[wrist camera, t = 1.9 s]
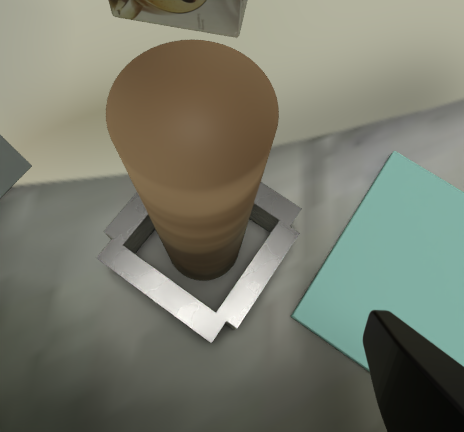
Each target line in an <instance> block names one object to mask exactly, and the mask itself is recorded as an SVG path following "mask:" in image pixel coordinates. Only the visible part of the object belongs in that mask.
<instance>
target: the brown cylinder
mask: <svg viewBox="0 0 464 432" xmlns="http://www.w3.org/2000/svg"><path fill="white" fill-rule="evenodd" d="M278 112H279V111H278V102H277V97H276V95H275V91H274V89H273V87H272V85H271V83H270V81H269V79H268V78H267V76H266V75H265V73H264V72H263V71H262V70H261V69H260V68H259V67H258V65H257V64H255V63H254V62H253V61H252V60H251V59H250V58H248V57H247V56H245V55H244V54H242V53H241V52H239V51H237V50H235V49H233V48H230V47H228V46H225V45H223V44H219V43H215V42H210V41H204V40H180V41H174V42H169V43H165V44H162V45H159V46H157V47H154V48H151V49H149V50H147V51H146V52H144V53H142V54H140V55H139V56H137V57H136V58H135V59H133V60H132V61H131V62H130V63H129V64H128V65H127V66H126V67H125V68H124V69H123V70H122V71H121V72H120V74H119V75H118V77H117V78H116V80H115V81H114V83H113V85H112V87H111V90H110V93H109V96H108V100H107V105H106V122H107V128H108V131H109V134H110V137H111V140H112V142H113V144H114V146H115V148H116V150H117V152H118V154H119V156H120V158H121V160H122V162H123V164H124V166H125V168H126V170H127V172H128V174H129V176H130V178H131V180H132V182H133V184H134V186H135V188H136V190H137V192H138V194H139V196H140V198H141V200H142V202H143V204H144V206H145V208H146V210H147V213H148V215H149V217H150V219H151V221H152V223H153V225H154V227H155V229H156V231H157V233H158V235H159V237H160V239H161V241H162V243H163V245H164V247H165V249H166V251H167V253H168V255H169V257H170V259H171V261H172V263H173V265H174V266H175V267H176V268H177V270H178V271H180V272H181V273H182V274H183V275H185V276H187V277H189V278H192V279H195V280H211V279H215V278H217V277H220V276H221V275H223V274H225V273H226V272H227V271H228V270H229V269H230V268H231V267H232V266H233V264H234V263H235V261H236V259H237V256H238V253H239V250H240V247H241V243H242V240H243V237H244V234H245V230H246V227H247V224H248V221H249V218H250V214H251V211H252V208H253V205H254V201H255V198H256V195H257V192H258V189H259V185H260V182H261V179H262V176H263V172H264V169H265V166H266V163H267V159H268V156H269V153H270V150H271V147H272V143H273V140H274V137H275V133H276V130H277V126H278V118H279V114H278Z"/></svg>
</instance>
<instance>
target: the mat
mask: <svg viewBox="0 0 464 432" xmlns="http://www.w3.org/2000/svg"><path fill="white" fill-rule="evenodd" d="M372 310H388V311H390V312H391V313H393V314H394V315H396V316H397V317H398V318H400V319H401V320H402V321H404V322H405V323H406V324H408V325H409V326H410V327H412V328H413V329H414V330H416V331H417V332H418V333H420V334H421V335H422V336H424V337H425V338H426V339H428V340H429V341H430V342H432V343H433V344H434V345H436V346H437V347H438V348H440V349H441V350H442V351H444V352H445V353H446V354H448V355H449V356H450V357H452V358H453V359H454V360H456V361H457V362H458V363H460V364H461V365H462V366H464V192H462V191H461V190H459V189H457V188H456V187H454V186H452V185H451V184H449V183H447V182H446V181H444V180H442V179H441V178H439V177H437V176H436V175H434V174H432V173H431V172H429V171H427V170H426V169H424V168H422V167H421V166H419V165H417V164H416V163H414V162H412V161H411V160H409V159H407V158H406V157H404V156H402V155H401V154H399V153H397V152H396V151H394V152H393V153H392V154H391V155H390V156H389V158H388V160H387V161H386V163H385V165H384V166H383V168H382V169H381V171H380V173H379V174H378V176H377V177H376V179H375V181H374V182H373V184H372V186H371V187H370V189H369V190H368V192H367V194H366V195H365V197H364V199H363V200H362V202H361V203H360V205H359V207H358V208H357V210H356V211H355V213H354V215H353V216H352V218H351V220H350V221H349V223H348V224H347V226H346V228H345V229H344V231H343V233H342V234H341V236H340V237H339V239H338V241H337V242H336V244H335V245H334V247H333V249H332V250H331V252H330V254H329V255H328V257H327V258H326V260H325V262H324V263H323V265H322V267H321V268H320V270H319V271H318V273H317V275H316V276H315V278H314V279H313V281H312V283H311V284H310V286H309V288H308V289H307V291H306V292H305V294H304V296H303V297H302V299H301V300H300V302H299V304H298V305H297V307H296V309H295V310H294V312H293V313H292V315H291V317H292V318H294V319H295V320H296V321H298V322H299V323H301V324H302V325H304V326H305V327H306V328H308V329H309V330H311V331H312V332H314V333H315V334H316V335H318V336H319V337H321V338H322V339H324V340H325V341H326V342H328V343H329V344H331V345H332V346H333V347H335V348H336V349H338V350H339V351H341V352H342V353H343V354H345V355H346V356H348V357H349V358H351V359H352V360H353V361H355V362H356V363H358V364H359V365H361V366H362V367H363V368H365V369H366V370H368V371H369V367H368V363H367V359H366V355H365V350H364V346H363V333H364V330H365V326H366V323H367V319H368V316H369V313H370V312H371V311H372ZM369 372H370V371H369Z"/></svg>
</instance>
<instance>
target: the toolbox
mask: <svg viewBox="0 0 464 432" xmlns="http://www.w3.org/2000/svg"><path fill="white" fill-rule="evenodd" d="M31 167H32V165H31V164H29V163H28V161H26V159H24V158H23V157H22V156H21V155H20V154H19V153H18V152H17V151H16V150H15V149H14V148H13V147H12V146H11V145H10V144H9V143H8V142H7V141H6V140H5V139H4V138H3V137H2V136H1V135H0V198H1V197H2V196H3V195H4V194H5V193H6V192H7V191H8V190H9V189H10V188H11V187H12V186H13V185H14V184H15V183H16V182H17V180H19V178H21V177H22V175H24V174H25V173H26V171H28V170H29V169H30V168H31Z"/></svg>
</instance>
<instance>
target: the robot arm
mask: <svg viewBox="0 0 464 432" xmlns="http://www.w3.org/2000/svg"><path fill="white" fill-rule="evenodd" d="M363 346H364V350H365V355H366V359H367V363H368V367H369V371H370V375H371V379H372V383H373V387H374V391H375V395H376V399H377V403H378V406H379V409H380V412H381V415H382V418H383V421H384V424H385V426H386V429H387V432H464V366H462V365H461V364H460V363H458V362H457V361H456V360H454V359H453V358H452V357H450V356H449V355H448V354H446V353H445V352H444V351H442V350H441V349H440V348H438V347H437V346H436V345H434V344H433V343H432V342H430V341H429V340H428V339H426V338H425V337H424V336H422V335H421V334H420V333H418V332H417V331H416V330H414V329H413V328H412V327H410V326H409V325H408V324H406V323H405V322H404V321H402V320H401V319H400V318H398V317H397V316H396V315H394V314H393V313H391V312H390V311H388V310H372V311H371V312H370V313H369V316H368V319H367V323H366V326H365V330H364V333H363Z"/></svg>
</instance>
